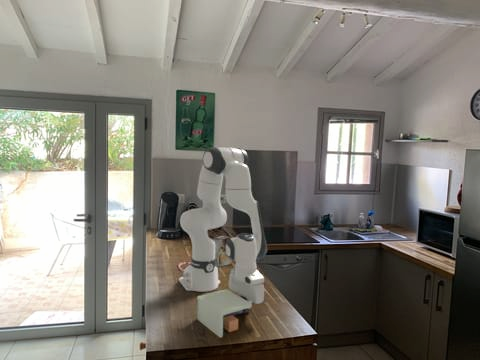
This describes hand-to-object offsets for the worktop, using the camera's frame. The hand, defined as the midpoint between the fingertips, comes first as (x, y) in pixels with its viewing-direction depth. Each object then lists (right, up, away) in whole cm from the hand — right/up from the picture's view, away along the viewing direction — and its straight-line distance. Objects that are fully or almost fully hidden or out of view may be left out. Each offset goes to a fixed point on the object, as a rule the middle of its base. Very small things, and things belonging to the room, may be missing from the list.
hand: (244, 306), depth 149 cm
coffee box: (-13, +3, +62) cm, 63 cm away
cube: (-6, -4, -13) cm, 15 cm away
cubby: (-8, -3, -9) cm, 13 cm away
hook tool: (-5, -3, -6) cm, 8 cm away
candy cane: (-33, +2, +54) cm, 64 cm away
